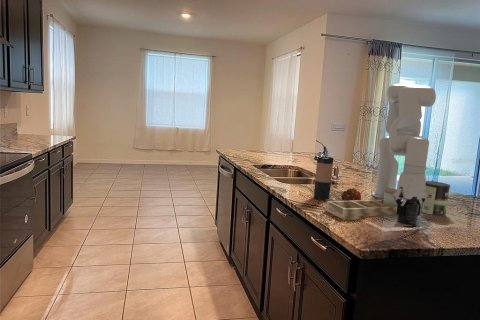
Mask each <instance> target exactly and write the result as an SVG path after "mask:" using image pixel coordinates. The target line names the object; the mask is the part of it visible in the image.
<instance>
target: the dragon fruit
mask: <svg viewBox="0 0 480 320" xmlns="http://www.w3.org/2000/svg"><path fill="white" fill-rule="evenodd" d="M340 197H341V201H355V200H362V194H361V192H360V191H358V189H356V188H355V187H353V188H348V189H346V190H345V191H343V192H342V194H341V196H340Z"/></svg>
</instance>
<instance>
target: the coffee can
mask: <svg viewBox="0 0 480 320" xmlns="http://www.w3.org/2000/svg"><path fill="white" fill-rule="evenodd" d="M450 188H451V184H449V183H445V182H439V181H433V180H426V186H425V192H426V193H427V194H428V197H427V198H426V199H425V201H424V202H423V205H422V206H421V210H420V213H424V214H427V215H432V216H446V215H447V209H448V208H447V207H448V200H449V194H450Z"/></svg>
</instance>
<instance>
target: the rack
mask: <svg viewBox="0 0 480 320" xmlns="http://www.w3.org/2000/svg"><path fill="white" fill-rule="evenodd" d="M326 201H327V202H326V208H325V211H326V212H328V213H330V214H331V215H333V216H336V217H338V218H340V219H342V220H344V221H351V220H367V217H377V216H378V217H379V216H398V215H397V214H396V213H397V207H389V206H386V205H383V201H384V199H363V200H362V199H361V200H355V201H343V200H331V201H330V200H329V201H328V200H326Z"/></svg>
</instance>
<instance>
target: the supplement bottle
mask: <svg viewBox="0 0 480 320" xmlns="http://www.w3.org/2000/svg"><path fill="white" fill-rule="evenodd" d="M416 201H417V197H413V198H412V199H410V200H407V201H406V202H405V204H404V206H405V211H404V216H400V215H397V222H398V223H399V224H403V225H406V226H403V228H408V229H414V228H417V223H418V211H419V205H418V203H416Z"/></svg>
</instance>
